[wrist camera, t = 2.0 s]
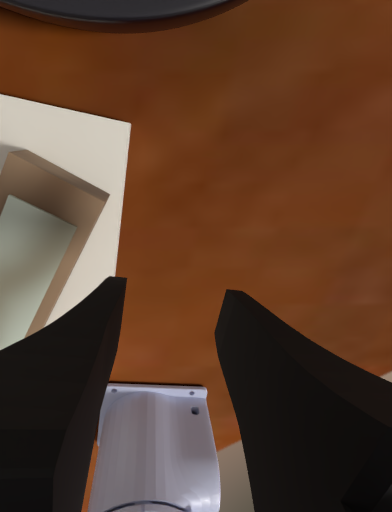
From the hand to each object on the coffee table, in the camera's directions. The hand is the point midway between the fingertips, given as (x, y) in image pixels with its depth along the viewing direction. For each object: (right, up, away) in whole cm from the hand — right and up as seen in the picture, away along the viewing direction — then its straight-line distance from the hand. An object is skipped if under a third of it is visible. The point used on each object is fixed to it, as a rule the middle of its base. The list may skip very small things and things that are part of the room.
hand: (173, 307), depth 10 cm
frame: (-11, +1, +8) cm, 13 cm away
